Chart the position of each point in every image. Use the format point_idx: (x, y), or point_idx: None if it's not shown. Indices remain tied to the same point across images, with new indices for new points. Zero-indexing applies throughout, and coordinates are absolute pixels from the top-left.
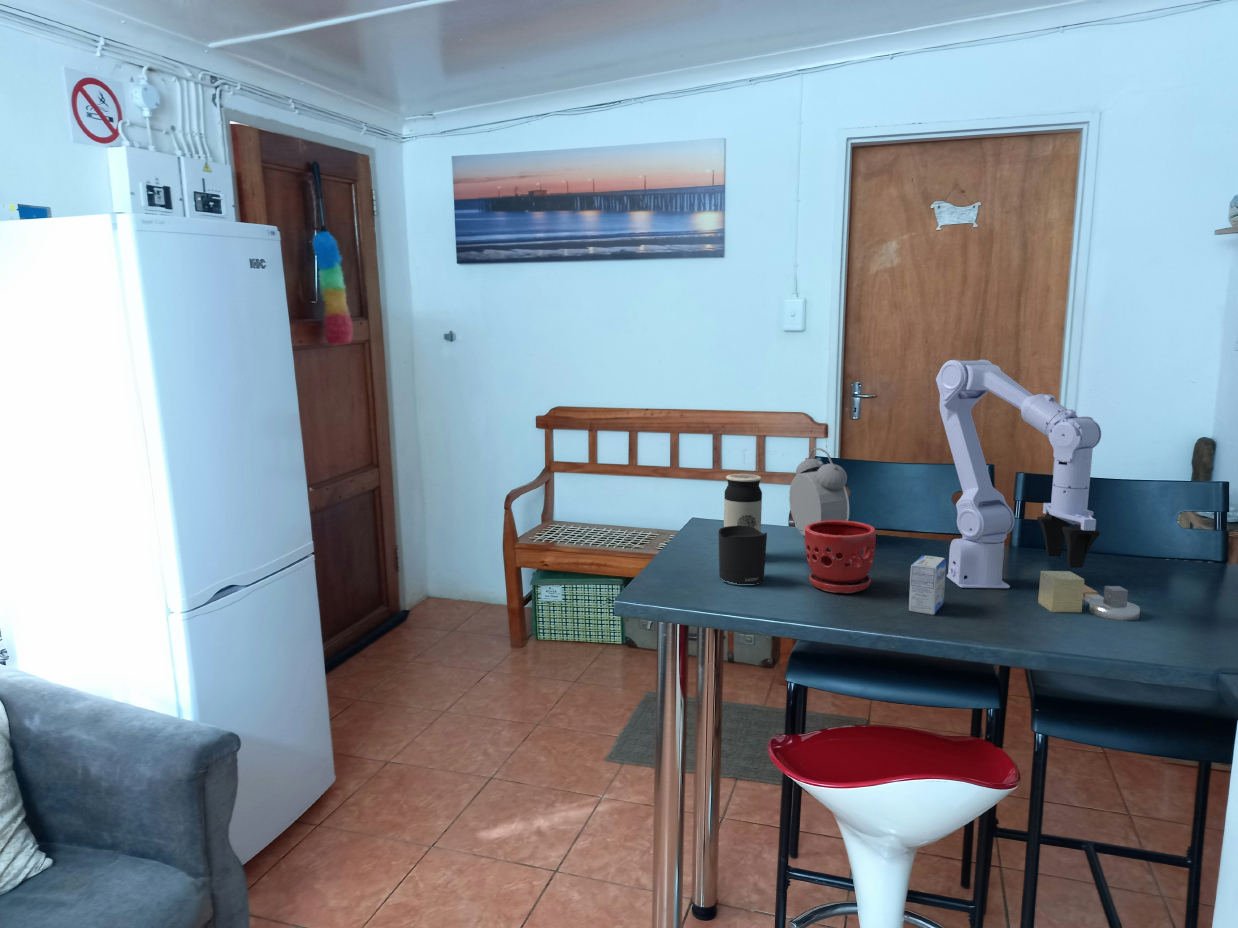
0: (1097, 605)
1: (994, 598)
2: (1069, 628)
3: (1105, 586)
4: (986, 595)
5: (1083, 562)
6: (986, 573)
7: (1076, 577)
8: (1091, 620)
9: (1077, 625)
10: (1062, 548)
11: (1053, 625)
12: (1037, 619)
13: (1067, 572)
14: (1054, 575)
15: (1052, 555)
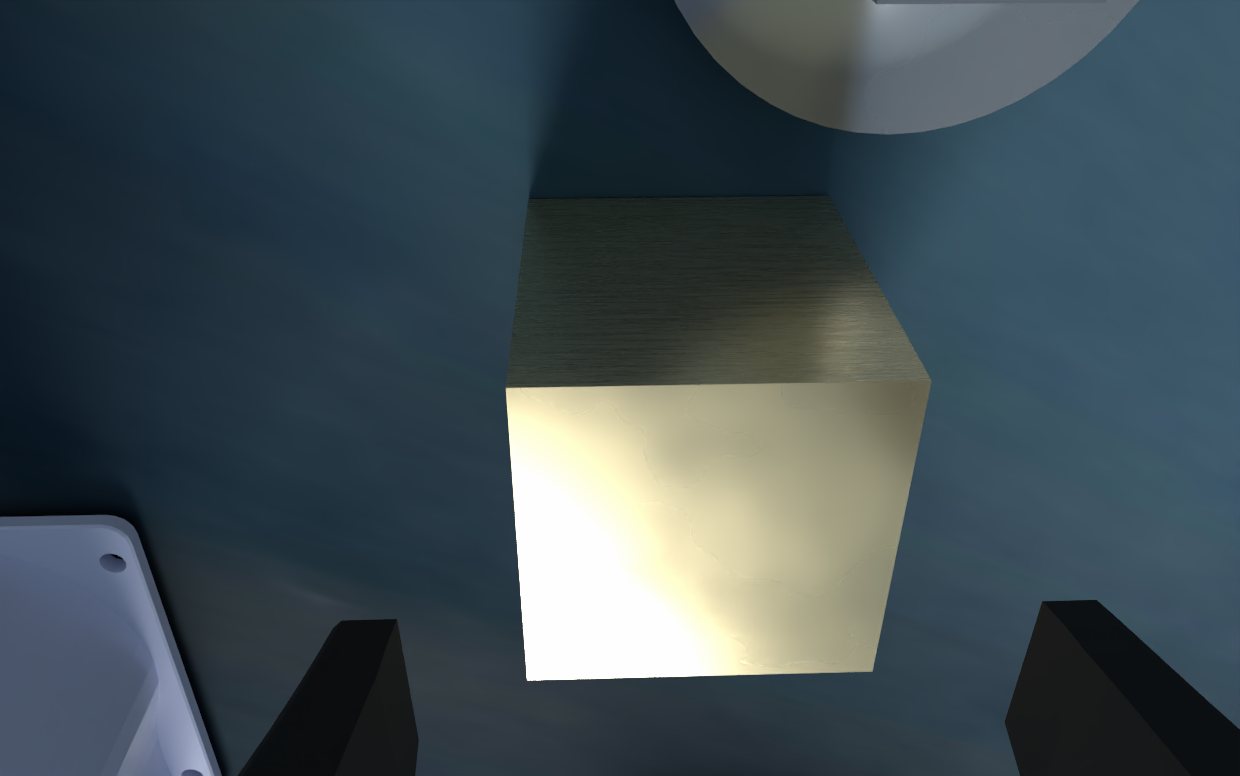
0: (923, 94)
1: (450, 677)
2: (1196, 472)
3: (896, 2)
4: None
5: (1155, 660)
6: (119, 771)
7: (828, 434)
8: (1064, 217)
9: (1152, 390)
10: (365, 715)
11: (1106, 544)
12: (959, 589)
13: (572, 437)
14: (723, 621)
15: (410, 719)
